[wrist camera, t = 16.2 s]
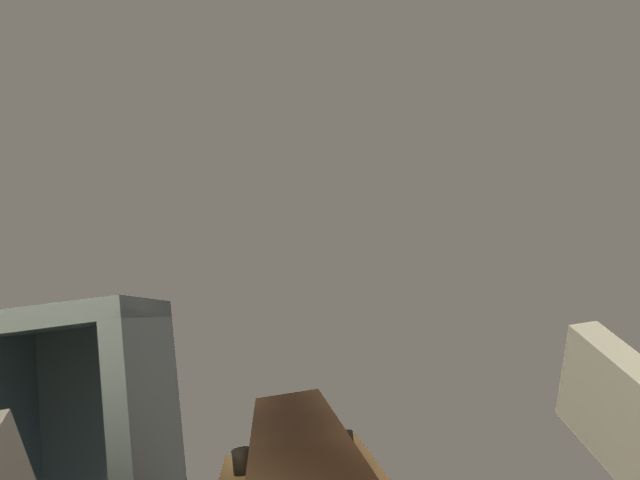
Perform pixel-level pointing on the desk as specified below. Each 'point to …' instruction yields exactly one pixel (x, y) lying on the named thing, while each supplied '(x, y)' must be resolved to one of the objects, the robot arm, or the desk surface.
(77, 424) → the grey slotted cabinet
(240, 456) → the wooden arch
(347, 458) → the rail
